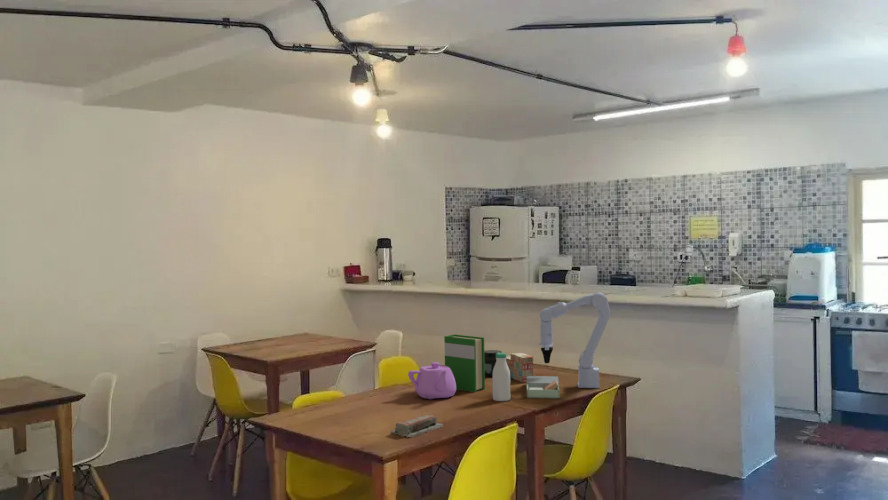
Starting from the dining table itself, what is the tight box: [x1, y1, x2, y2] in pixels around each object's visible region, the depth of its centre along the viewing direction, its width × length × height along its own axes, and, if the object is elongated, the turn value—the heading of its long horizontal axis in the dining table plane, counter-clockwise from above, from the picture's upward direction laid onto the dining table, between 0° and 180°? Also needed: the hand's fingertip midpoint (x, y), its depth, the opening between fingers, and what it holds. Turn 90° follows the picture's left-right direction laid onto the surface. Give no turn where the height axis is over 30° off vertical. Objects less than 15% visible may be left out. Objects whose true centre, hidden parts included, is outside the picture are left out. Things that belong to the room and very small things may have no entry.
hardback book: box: [443, 334, 486, 393], centre depth 332 cm, size 18×7×24 cm, turn 50°
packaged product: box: [390, 414, 444, 438], centre depth 264 cm, size 18×5×10 cm
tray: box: [526, 384, 560, 399], centre depth 317 cm, size 14×12×4 cm
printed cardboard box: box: [506, 352, 534, 383], centre depth 354 cm, size 21×6×12 cm, turn 22°
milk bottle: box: [492, 352, 512, 402], centre depth 309 cm, size 8×8×20 cm
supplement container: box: [484, 349, 503, 378], centre depth 362 cm, size 10×10×12 cm
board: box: [525, 375, 560, 390], centre depth 330 cm, size 14×15×4 cm
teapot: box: [407, 361, 457, 400], centre depth 314 cm, size 23×21×15 cm
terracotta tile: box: [544, 380, 560, 390], centre depth 319 cm, size 6×6×2 cm
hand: (546, 363), depth 337 cm, fingers closed
